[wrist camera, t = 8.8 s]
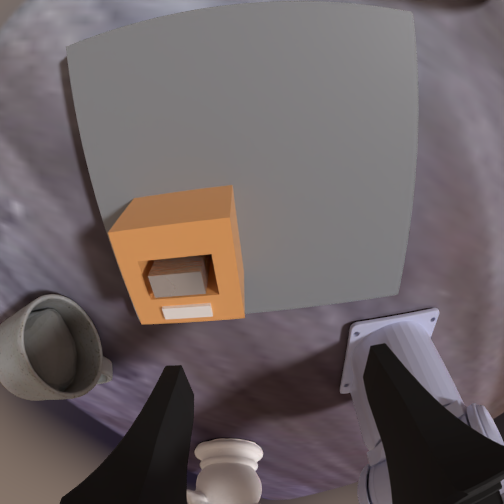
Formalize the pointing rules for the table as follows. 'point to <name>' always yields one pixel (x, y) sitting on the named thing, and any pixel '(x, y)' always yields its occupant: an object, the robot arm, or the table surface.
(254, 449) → the cherub figurine
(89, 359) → the ceramic mug
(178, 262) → the grey cubby insert
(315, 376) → the table surface
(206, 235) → the orange cubby crate
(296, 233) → the board
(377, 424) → the robot arm
